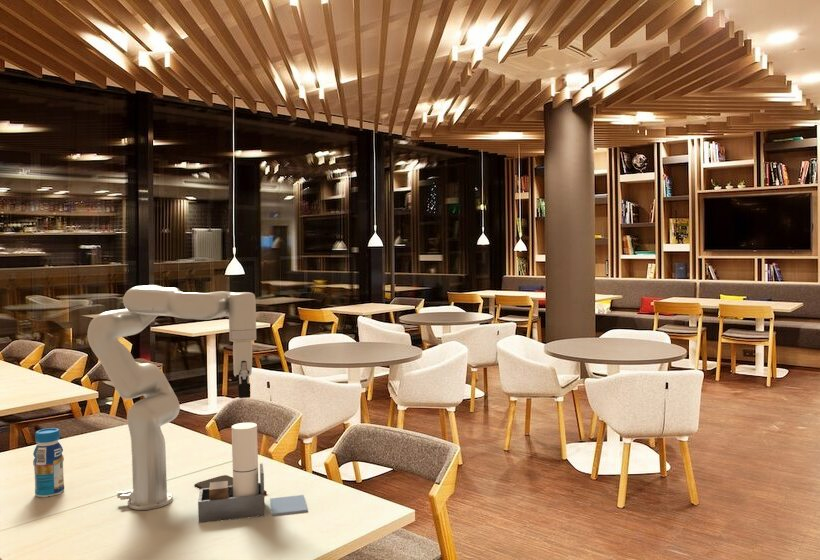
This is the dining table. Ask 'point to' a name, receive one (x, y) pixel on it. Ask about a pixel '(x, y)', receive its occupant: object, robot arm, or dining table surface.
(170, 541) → the dining table surface
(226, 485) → the walnut offcut upper
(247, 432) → the cylindrical container
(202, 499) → the rack
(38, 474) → the beverage bottle
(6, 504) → the dining table surface
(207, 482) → the smartphone
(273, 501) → the mat
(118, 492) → the robot arm
